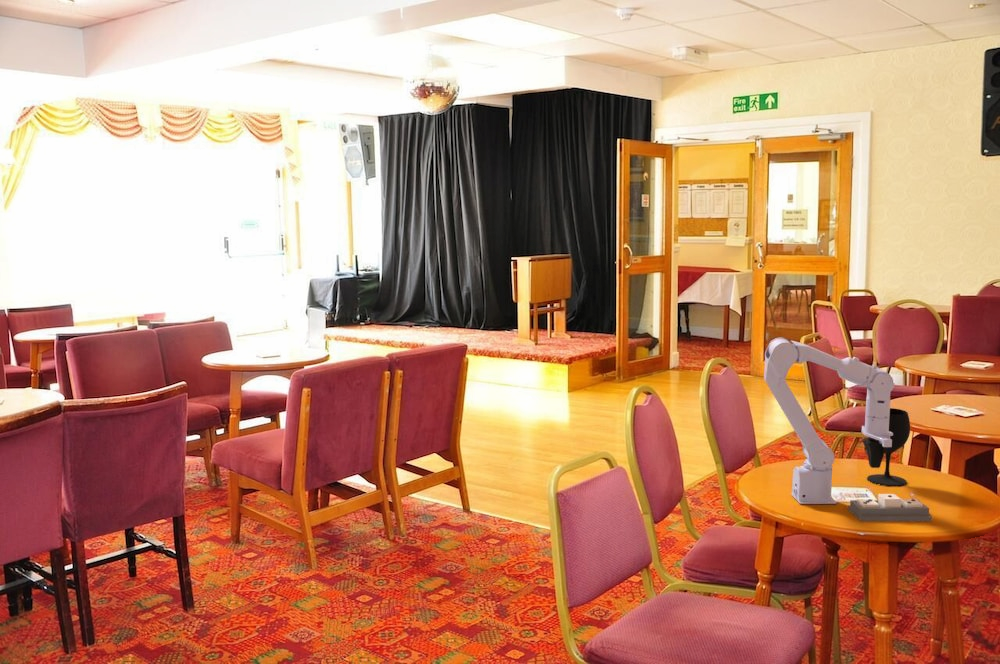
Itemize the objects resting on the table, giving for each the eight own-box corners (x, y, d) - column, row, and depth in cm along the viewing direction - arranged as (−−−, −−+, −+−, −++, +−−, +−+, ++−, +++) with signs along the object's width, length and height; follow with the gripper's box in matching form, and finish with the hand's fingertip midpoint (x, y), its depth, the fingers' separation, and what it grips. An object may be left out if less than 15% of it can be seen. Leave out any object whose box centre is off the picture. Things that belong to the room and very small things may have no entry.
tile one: (884, 508, 222) (885, 498, 222) (877, 503, 226) (878, 493, 226) (900, 508, 222) (901, 498, 222) (893, 503, 226) (894, 493, 226)
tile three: (862, 513, 223) (862, 503, 222) (856, 508, 227) (856, 498, 226) (878, 513, 223) (879, 503, 222) (872, 508, 227) (872, 498, 226)
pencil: (908, 495, 240) (929, 519, 222) (911, 491, 240) (931, 516, 222) (912, 496, 240) (932, 521, 222) (914, 493, 240) (934, 518, 221)
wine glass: (900, 476, 257) (904, 407, 254) (911, 487, 246) (916, 416, 244) (862, 474, 258) (866, 406, 255) (872, 486, 248) (875, 415, 245)
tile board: (861, 521, 220) (862, 510, 220) (847, 509, 229) (848, 498, 229) (931, 521, 220) (931, 510, 220) (914, 508, 229) (915, 498, 229)
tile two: (906, 513, 223) (906, 503, 222) (899, 508, 227) (899, 498, 226) (922, 513, 223) (923, 503, 222) (915, 508, 226) (915, 498, 226)
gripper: (905, 422, 224) (902, 475, 226) (881, 409, 239) (878, 459, 240) (876, 422, 224) (873, 475, 226) (854, 409, 239) (852, 459, 241)
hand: (874, 467), depth 233 cm, fingers closed
